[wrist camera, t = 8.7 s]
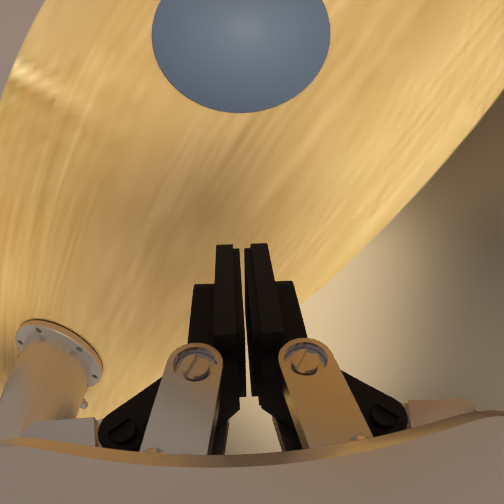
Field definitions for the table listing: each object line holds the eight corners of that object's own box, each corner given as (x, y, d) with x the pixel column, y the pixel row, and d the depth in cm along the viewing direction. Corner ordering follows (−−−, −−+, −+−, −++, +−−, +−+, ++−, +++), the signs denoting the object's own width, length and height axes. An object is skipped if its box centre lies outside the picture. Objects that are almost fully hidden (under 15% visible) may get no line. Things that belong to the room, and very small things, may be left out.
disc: (326, 114, 21) (326, 115, 21) (156, 117, 21) (155, 117, 21) (329, -38, 15) (330, -39, 14) (152, -37, 14) (152, -38, 14)
